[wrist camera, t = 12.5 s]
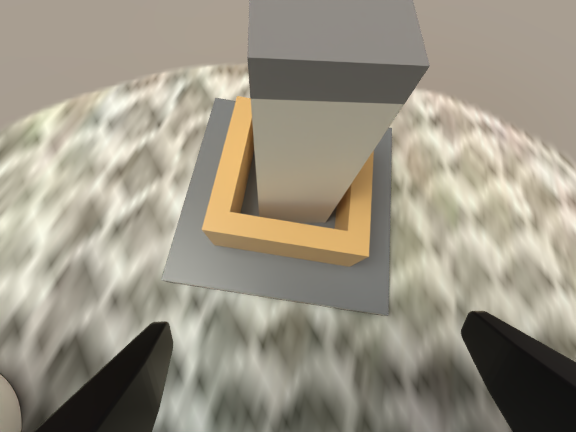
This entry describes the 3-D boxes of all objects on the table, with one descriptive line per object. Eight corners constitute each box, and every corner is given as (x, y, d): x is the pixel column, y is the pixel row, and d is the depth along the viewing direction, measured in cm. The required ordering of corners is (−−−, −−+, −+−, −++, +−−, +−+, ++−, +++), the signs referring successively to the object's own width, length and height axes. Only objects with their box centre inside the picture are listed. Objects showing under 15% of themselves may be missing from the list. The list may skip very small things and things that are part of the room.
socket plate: (381, 315, 18) (418, 316, 13) (166, 281, 17) (134, 272, 13) (386, 135, 22) (414, 94, 18) (217, 106, 22) (205, 58, 18)
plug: (325, 222, 18) (429, 65, 7) (259, 222, 18) (247, 57, 6) (321, 165, 20) (400, -48, 8) (260, 164, 20) (251, -60, 8)
